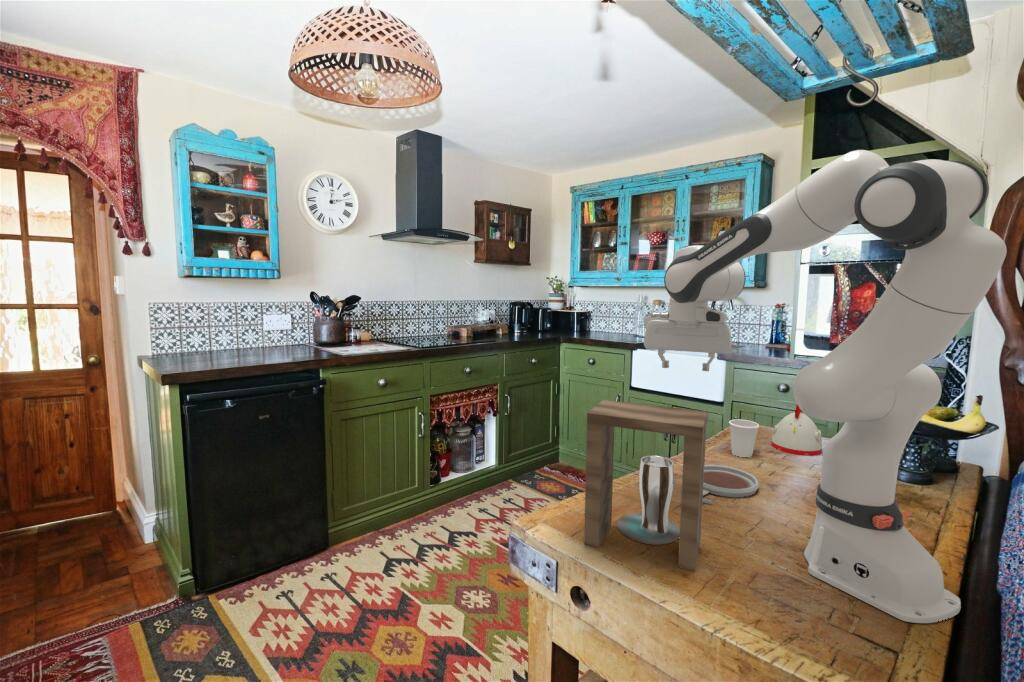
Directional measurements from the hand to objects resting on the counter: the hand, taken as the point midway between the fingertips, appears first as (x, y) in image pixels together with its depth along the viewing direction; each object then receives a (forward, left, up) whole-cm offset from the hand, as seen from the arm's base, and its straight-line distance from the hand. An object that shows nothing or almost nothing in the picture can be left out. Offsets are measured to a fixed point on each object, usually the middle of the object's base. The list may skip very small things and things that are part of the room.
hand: (685, 369), depth 119 cm
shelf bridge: (-16, +21, -31) cm, 41 cm away
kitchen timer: (+14, -56, -31) cm, 66 cm away
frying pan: (-3, -8, -32) cm, 33 cm away
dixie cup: (+15, -35, -31) cm, 49 cm away
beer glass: (-15, +19, -31) cm, 39 cm away
